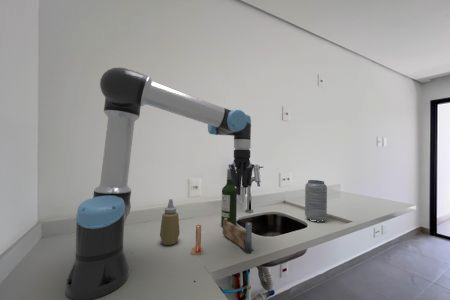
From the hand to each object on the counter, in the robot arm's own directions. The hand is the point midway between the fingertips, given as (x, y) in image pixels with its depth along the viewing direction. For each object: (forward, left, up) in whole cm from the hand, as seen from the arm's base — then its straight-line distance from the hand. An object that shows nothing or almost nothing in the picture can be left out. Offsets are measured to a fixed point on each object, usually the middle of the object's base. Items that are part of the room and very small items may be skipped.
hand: (241, 201), depth 87 cm
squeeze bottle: (-4, +30, -17) cm, 35 cm away
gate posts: (-10, +8, -16) cm, 21 cm away
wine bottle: (+15, +4, -17) cm, 23 cm away
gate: (-4, +3, -16) cm, 16 cm away
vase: (+26, -48, -17) cm, 57 cm away
